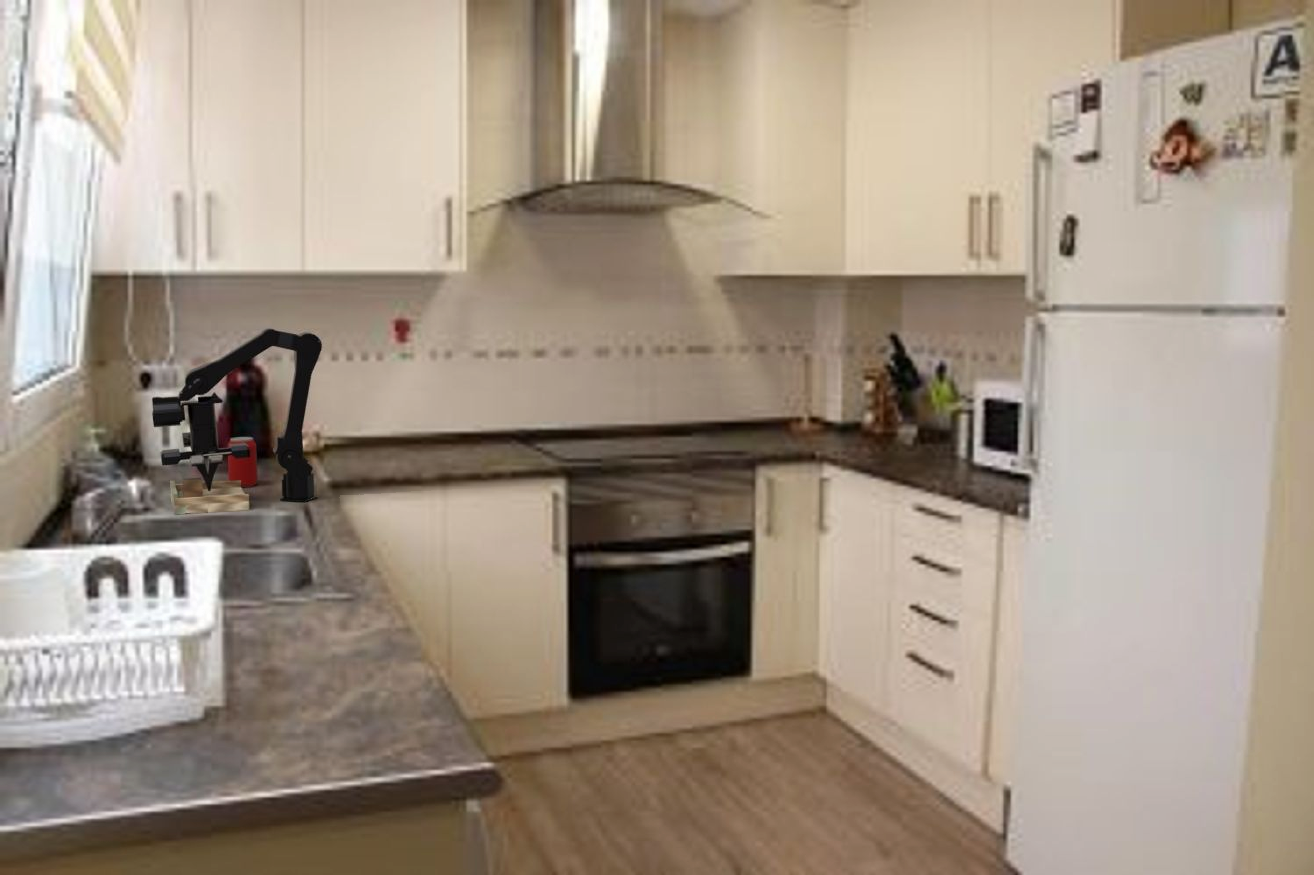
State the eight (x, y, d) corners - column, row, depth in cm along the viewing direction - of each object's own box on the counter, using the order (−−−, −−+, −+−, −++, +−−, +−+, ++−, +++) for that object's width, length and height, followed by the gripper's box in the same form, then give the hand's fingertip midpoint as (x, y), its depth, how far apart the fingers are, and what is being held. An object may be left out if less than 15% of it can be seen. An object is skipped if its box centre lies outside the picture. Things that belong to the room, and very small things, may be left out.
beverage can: (262, 483, 285) (260, 437, 283) (250, 488, 278) (248, 440, 276) (236, 482, 285) (235, 436, 284) (224, 487, 279) (222, 439, 277)
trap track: (241, 494, 270) (240, 476, 269) (249, 509, 253) (248, 490, 252) (170, 499, 263) (170, 480, 263) (174, 514, 246) (173, 494, 246)
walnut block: (201, 494, 259) (201, 477, 259) (202, 497, 256) (202, 480, 255) (183, 495, 257) (182, 478, 257) (183, 498, 254) (183, 481, 253)
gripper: (242, 416, 266) (248, 480, 269) (157, 423, 259) (163, 489, 261) (247, 421, 256) (253, 488, 259) (158, 429, 249) (165, 498, 251)
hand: (209, 490), depth 258 cm, fingers closed
